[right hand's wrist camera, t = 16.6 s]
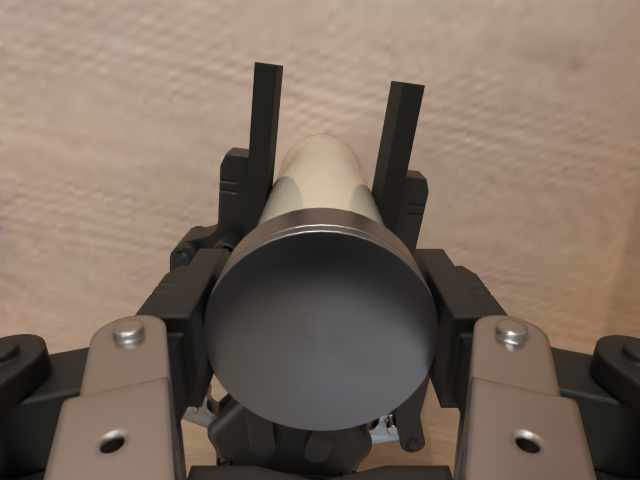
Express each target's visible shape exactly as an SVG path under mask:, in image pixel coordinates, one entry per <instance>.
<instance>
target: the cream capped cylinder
mask: <svg viewBox="0 0 640 480" xmlns="http://www.w3.org/2000/svg"><path fill="white" fill-rule="evenodd" d="M320 207H322V208H336V209H342V210H347V211H351V212H354V213H357V214H361V215H364V216H366V217H368V218H370V219H372V220H374V221H376V222H378V223H379V224H381V225H383V226H384V227H385V225H384V222H383V220H382V217H381V215H380V213H379V210H378V208H377V205H376V203H375V201H374V198H373V196H372V193H371V191H370V189H369V186H368V184H367V181H366V179H365V177H364V174H363V172H362V169H361V167H360V165H359V162H358V160H357V158H356V156H355V154H354V152H353V151H352V150H351V149H350V147H349V146H348V145H346V144H345V143H344V142H342V141H341V140H339V139H337V138H334V137H332V136H327V135H314V136H310V137H307V138H304V139H302V140H300V141H299V142H297V143H296V144H295V145H294V146H293V147H292V148H291V149H290V150H289V151H288V153H287V154H286V156H285V158H284V160H283V163H282V165H281V168H280V170H279V173H278V175H277V177H276V180H275V182H274V185H273V187H272V190H271V192H270V195H269V197H268V199H267V202H266V204H265V207H264V209H263V212H262V214H261V217H260V219H259V221H258V224H257V226H256V228H257V227H258V226H260V225H261V224H263V223H264V222H266V221H268V220H270V219H272V218H274V217H276V216H279V215H282V214H285V213H288V212H291V211H295V210H300V209H306V208H320Z"/></svg>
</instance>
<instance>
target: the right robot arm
mask: <svg viewBox="0 0 640 480" xmlns="http://www.w3.org/2000/svg"><path fill="white" fill-rule="evenodd" d="M229 256H230V255H229V251H228V249H199V250H198V252H197V253H196V255H195V256H194V258H193V259H192V261H191V262H190V264H189V265H188V266H179V267H177V268H176V269H174V270H172V271H171V272H169V273H167V274H166V275H165V276H164V278H163V279H162V280H161V282H160V283H159V286H157V287H156V288H155V290H154V291H153V292H152V295H150V296H149V298H148V299H147V300H146V301H145V303H144V304H143V305H142V307H141V308H140V309H139V311H138V312H137V313H136V315H135V316H129V317H124V318H121V319H118V320H115V321H113V322H110V323H108V324H106V325H105V326H103V327H102V328H100V329H99V330H98V331H97V332H96V333H95V334H94V335H93V337H92V339H91V342H90V347H87V348H83V349H78V350H73V351H67V352H62V353H57V354H51V355H49V354H48V350H47V347H46V343H45V341H44V339H43V338H41V337H39V336H37V335H31V334H20V335H12V336H7V337H3V338H0V480H312V479H308V478H304V477H299V476H295V475H291V474H287V473H283V472H279V471H274V470H270V469H266V468H262V467H258V466H191V469H190V472H189V475H188V478H187V475H186V465H185V455H184V445H183V435H182V427H181V421H180V418H181V416H182V413H183V411H184V408H185V407H202V405H203V402H204V399H205V397H206V394H207V391H208V388H209V385H210V382H211V379H212V377H213V374H214V372H213V370H212V368H211V366H210V363H209V361H208V356H207V349H206V340H205V332H204V313H205V309H206V306H207V302H208V299H209V297H210V295H211V293H212V290H213V288H214V286H215V284H216V282H217V280H218V278H219V276H220V274H221V272H222V270H223V268H224V266H225V264H226V262H227V260H228V258H229ZM413 258H414V259H415V261H416V263H417V265H418V267H419V269H420V271H421V273H422V275H423V277H424V279H425V282H426V283H427V285H428V287H429V290H430V292H431V294H432V296H433V299H434V301H435V304H436V308H437V312H438V317H439V329H438V338H437V346H436V354H435V359H434V361H433V364H432V367H431V369H430V370H429V372H428V373H429V375H430V378H431V381H432V384H433V386H434V389H435V392H436V395H437V398H438V400H439V403H440V406H441V408H458V409H459V411H460V413H461V414H460V421H459V427H458V435H457V445H456V455H455V465H454V475H453V478H452V475H451V472H450V469H449V466H382V467H378V468H374V469H370V470H366V471H361V472H357V473H353V474H349V475H345V476H341V477H336V478H332V479H328V480H640V339H638V338H634V337H629V336H621V335H612V336H605V337H603V338H600V339H599V340H598V341H597V343H596V346H595V350H594V353H593V355H589V354H583V353H578V352H573V351H567V350H562V349H558V348H554V347H550V342H549V339H548V337H547V335H546V334H545V333H544V332H543V331H542V330H541V329H540V328H538V327H537V326H535V325H534V324H532V323H530V322H527V321H525V320H522V319H519V318H516V317H511V316H508V315H507V314H506V313H505V311H504V310H503V309H502V307H501V306H500V305H499V303H498V302H497V301H496V299H495V298H494V297H493V296H492V295H490V292H489V290H488V289H487V288H486V287H484V284H483V282H482V281H481V280H480V279H479V277H478V276H477V275H476V274H475V273H473V272H471V271H470V270H468V269H466V268H465V267H463V266H454V265H453V263H452V262H451V260H450V259H449V257H448V256H447V255H446V253H445V252H444V250H443V249H415V250H414V252H413Z"/></svg>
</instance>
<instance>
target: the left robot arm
mask: <svg viewBox="0 0 640 480" xmlns="http://www.w3.org/2000/svg"><path fill="white" fill-rule="evenodd" d="M282 74H283V66H280V65H273V64H265V63H258V62H255V68H254V84H253V99H252V114H251V129H250V145H249V149H242V148H234V147H233V148H232V149H231V150H230V151H229V152H227V153H226V155H225V157H224V159H223V162H222V164H221V167H220V191H219V216H218V224H216V225H213V226H209V227H202V226H195V227H193V228H191V229H190V230H189V232H188V233H187V234H186V235H185V236H184V237H183V239H182V240H181V241H180V242H179V244H178V245H177V246H176V248H175V249H174V250H173V251H172V252H171V256H170V272H171V271H172V270H174V269H176V268H177V267H179V266H188V265H189V264H190V262H191V261H192V259H193V258H194V256H195V255H196V253H197V252H198V250H199V249H228V251H229V255H231V253H232V252H233V250H234V249H235V247H236V246H237V245H238V244H239V243H240V242H241V240H242V239H243V238H244V237H245V236H247V235H248V234H249V233H250V232H251V231H252V230H254V229H255V228H256V226H257V224H258V221H259V219H260V217H261V214H262V212H263V209H264V207H265V204H266V202H267V199H268V197H269V195H270V192H271V190H272V187H273V176H274V164H275V153H276V142H277V130H278V119H279V108H280V97H281V85H282ZM424 87H425V85H418V84H411V83H404V82H396V81H391V87H390V92H389V98H388V103H387V109H386V115H385V120H384V126H383V131H382V137H381V142H380V148H379V154H378V159H377V165H376V170H375V176H374V182H373V187H372V196H373V198H374V201H375V203H376V205H377V208H378V210H379V213H380V215H381V217H382V220H383V222H384V225H385V227H386V228H387V229H389V230H390V231H391V232H392V233H393V234H394V235H396V236H397V237H398V238H399V239H400V240H401V241H402V243H403V244H404V245H405V246H406V247H407V248H408V250H409V252H410V253H411V255H412V256H413V252H414V250H415V249H416V244H417V240H418V236H419V231H420V227H421V223H422V218H423V214H424V209H425V205H426V201H427V196H428V186H427V180H426V178H425V177H424V176H423V175H422V174H421V173H420V172H419V171H412V170H407V169H408V165H409V160H410V155H411V150H412V145H413V140H414V136H415V131H416V126H417V121H418V116H419V111H420V106H421V102H422V97H423V92H424ZM429 378H430V375H429V373H428V374H427V376H426V378H425V379H424V381H423V382H422V383H421V385H420V386H419V388H418V389H417V390H416V391H415V392H414V393H413V394H412V395H411V396H410V397H409V398H408V399H407V400H406V401H405V402H403V403H402V404H401V405H400V406H398V407H397V408H395V409H394V410H392V411H391V412H389V413H388V414H386V415H384V416H382V417H380V418H378V419H376V420H373V421H371V422H368V423H365V424H363V425H359V426H355V427H351V428H346V429H339V430H328V431H314V430H303V429H296V428H291V427H287V426H283V425H280V424H277V423H274V422H272V421H269V420H266V419H264V418H262V417H260V416H258V415H256V414H255V413H253V412H251V411H250V410H248V409H247V408H245V407H244V406H243V405H241V404H240V403H239V402H238V401H237V400H235V399H234V398H233V397H232V396H231V395H230V394H229V393H228V394H227V395H226V396H225V397H223V398H222V399H221V400H220V401H219V402H217V401H215V400H214V399H213V397H212V396H211V389H212V386H211V384H210V385H209V388H208V391H207V394H206V397H205V399H204V402H203V405H202V407H185V408H184V411H183V413H182V416H181V418H180V421H181V420H182V419H185V420H187V421H190V422H192V423H195V424H198V425H200V426H203V427H205V428H208V438H209V440H210V442H211V443H212V445H213V446H214V448H215V450H216V454H217V459H216V466H258V467H262V468H266V469H270V470H274V471H279V472H283V473H287V474H291V475H295V476H299V477H304V478H308V479H312V480H328V479H332V478H336V477H341V476H345V475H349V474H353V473H356V470H357V467H358V465H359V464H360V462H361V461H362V460H363V459H364V458H366V457H367V455H368V454H369V452H370V450H371V447H372V445H375V444H381V443H386V442H392V441H397V440H400V444H401V447H402V449H403V450H405V451H407V452H417V451H419V450H421V449H422V448H423V447H424V445H425V440H424V435H423V430H422V425H421V420H420V413H421V409H422V405H423V401H424V398H425V394H426V390H427V386H428V382H429Z"/></svg>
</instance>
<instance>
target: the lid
mask: <svg viewBox="0 0 640 480" xmlns="http://www.w3.org/2000/svg"><path fill="white" fill-rule="evenodd" d="M438 329H439V317H438V312H437V308H436V304H435V301H434V299H433V296H432V294H431V292H430V290H429V287H428V285H427V283H426V282H425V279H424V277H423V275H422V273H421V271H420V269H419V267H418V265H417V263H416V261H415V259H414V258H413V256H412V255H411V253H410V252H409V250H408V248H407V247H406V246H405V245H404V244H403V243H402V241H401V240H400V239H399V238H398V237H397V236H396V235H394V234H393V233H392V232H391V231H390V230H389V229H387V228H386V227H384V226H383V225H381V224H379V223H378V222H376V221H374V220H372V219H370V218H368V217H366V216H364V215H361V214H357V213H354V212H351V211H347V210H342V209H336V208H322V207H320V208H306V209H300V210H295V211H291V212H288V213H285V214H282V215H279V216H276V217H274V218H272V219H270V220H268V221H266V222H264V223H263V224H261V225H260V226H258V227H257V228H255V229H254V230H252V231H251V232H250V233H249V234H248V235H247V236H245V237H244V238H243V239H242V240H241V242H240V243H239V244H238V245H237V246H236V247H235V249H234V250H233V252H232V253H231V255H230V256H229V258H228V260H227V262H226V264H225V266H224V268H223V270H222V272H221V274H220V276H219V278H218V280H217V282H216V284H215V286H214V288H213V290H212V293H211V295H210V297H209V299H208V302H207V306H206V309H205V313H204V332H205V340H206V349H207V356H208V361H209V363H210V366H211V368H212V370H213V372H214V374H215V376H216V377H217V379H218V380H219V382H220V383H221V384H222V386H223V387H224V388H225V390H226V391H227V392H228V393H229V394H230V395H231V396H232V397H233V398H234V399H235V400H237V401H238V402H239V403H240V404H241V405H243V406H244V407H245V408H247V409H248V410H250V411H251V412H253V413H255V414H256V415H258V416H260V417H262V418H264V419H266V420H269V421H272V422H274V423H277V424H280V425H283V426H287V427H291V428H296V429H303V430H314V431H328V430H339V429H346V428H351V427H355V426H359V425H363V424H365V423H368V422H371V421H373V420H376V419H378V418H380V417H382V416H384V415H386V414H388V413H389V412H391V411H392V410H394V409H395V408H397V407H398V406H400V405H401V404H402V403H403V402H405V401H406V400H407V399H408V398H409V397H410V396H411V395H412V394H413V393H414V392H415V391H416V390H417V389H418V388H419V386H420V385H421V383H422V382H423V381H424V379H425V378H426V376H427V374H428V372H429V370H430V369H431V367H432V364H433V361H434V359H435V354H436V346H437V338H438Z"/></svg>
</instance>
